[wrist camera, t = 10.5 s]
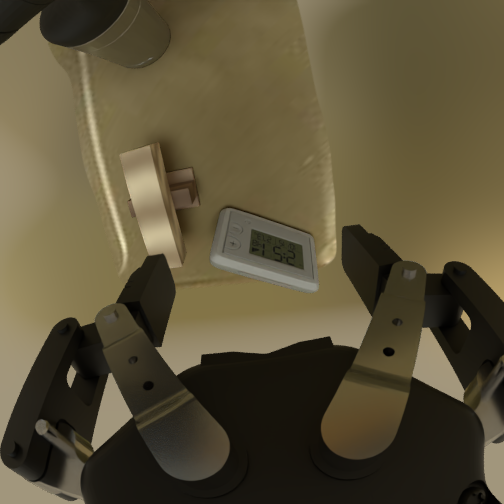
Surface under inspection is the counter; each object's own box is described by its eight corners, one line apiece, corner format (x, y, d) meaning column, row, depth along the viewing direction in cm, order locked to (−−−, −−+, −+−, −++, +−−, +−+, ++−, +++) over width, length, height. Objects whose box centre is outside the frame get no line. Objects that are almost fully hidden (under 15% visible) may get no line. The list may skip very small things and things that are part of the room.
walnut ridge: (137, 179, 39) (124, 189, 34) (192, 167, 39) (185, 175, 34) (147, 214, 42) (135, 228, 37) (200, 204, 42) (194, 217, 36)
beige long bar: (131, 150, 31) (119, 154, 28) (158, 142, 31) (149, 145, 28) (161, 256, 39) (154, 270, 35) (186, 252, 39) (182, 266, 35)
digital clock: (317, 237, 45) (337, 270, 36) (287, 277, 49) (298, 316, 39) (233, 188, 41) (232, 210, 31) (205, 235, 44) (197, 269, 35)
